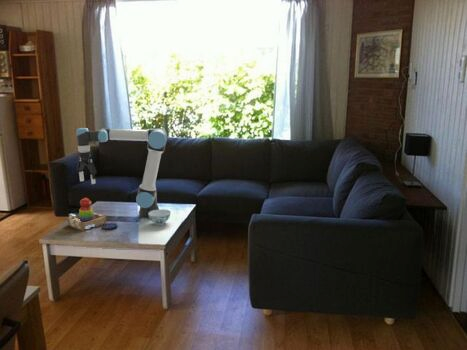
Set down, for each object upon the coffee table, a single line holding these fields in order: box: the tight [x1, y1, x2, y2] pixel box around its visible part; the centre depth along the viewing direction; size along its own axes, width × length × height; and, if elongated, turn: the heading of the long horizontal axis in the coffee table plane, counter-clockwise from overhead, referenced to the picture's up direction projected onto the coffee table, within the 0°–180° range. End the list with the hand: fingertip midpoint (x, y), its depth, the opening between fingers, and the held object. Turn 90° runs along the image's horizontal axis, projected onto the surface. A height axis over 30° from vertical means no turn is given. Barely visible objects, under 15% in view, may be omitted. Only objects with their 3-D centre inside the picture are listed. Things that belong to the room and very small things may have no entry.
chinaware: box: [148, 208, 171, 226], centre depth 284 cm, size 15×15×8 cm
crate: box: [67, 212, 107, 232], centre depth 284 cm, size 18×18×5 cm
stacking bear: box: [78, 197, 95, 222], centre depth 282 cm, size 11×10×18 cm
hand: (87, 182), depth 282 cm, fingers open, 13 cm apart
